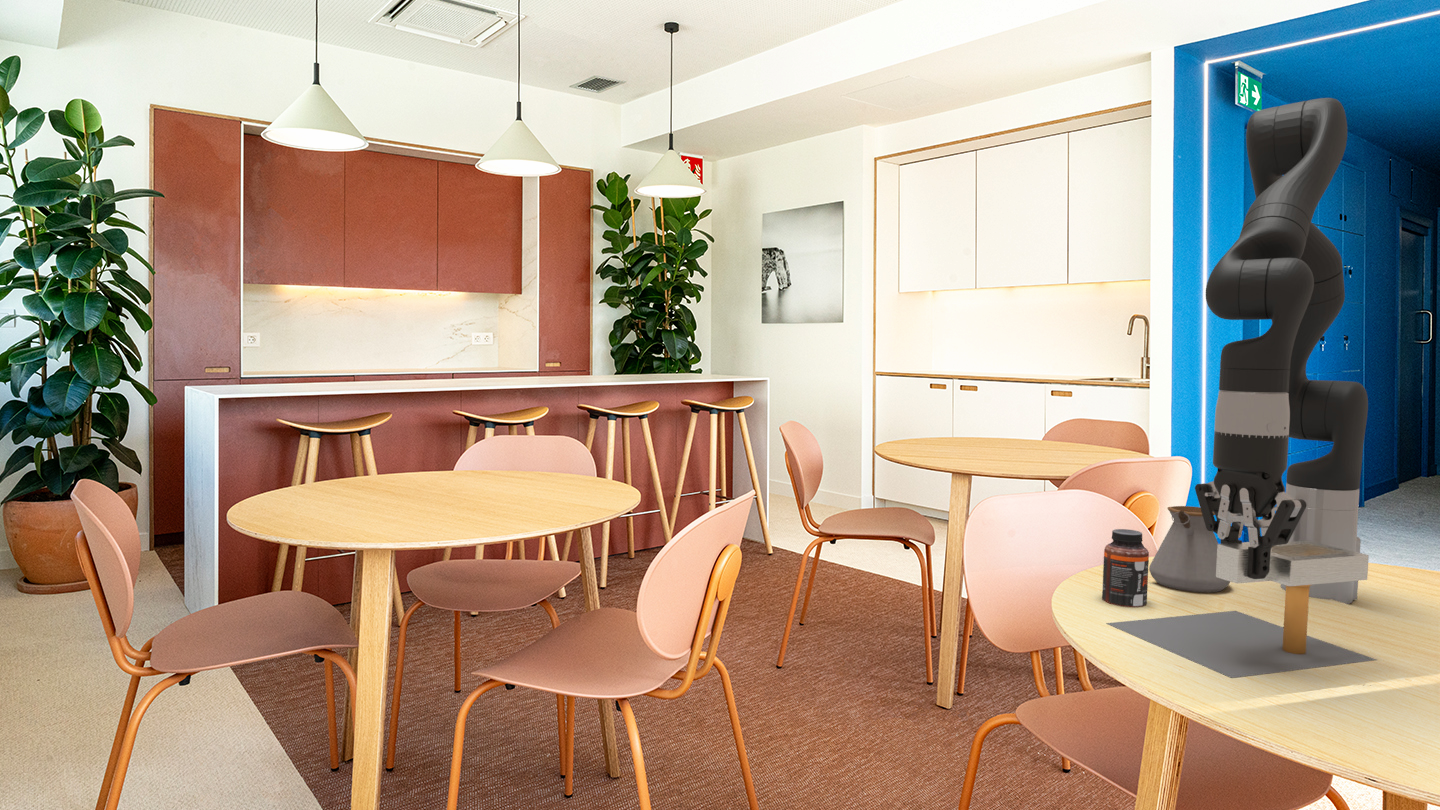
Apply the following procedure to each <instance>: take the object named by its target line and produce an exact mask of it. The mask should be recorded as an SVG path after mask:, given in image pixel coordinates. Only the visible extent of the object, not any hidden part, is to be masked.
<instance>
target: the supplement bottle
mask: <svg viewBox="0 0 1440 810" xmlns="http://www.w3.org/2000/svg"><path fill="white" fill-rule="evenodd" d="M1111 540H1112V541H1111V542H1110V543H1108V544H1106V545H1105V547H1104V551H1103V565H1102V566H1103V567H1102V568H1103V570H1102V592H1101V593H1102V594H1101V595H1102V596H1101V598H1102V601H1103V602H1105V603H1107V604H1110V605H1112V606H1113V605H1114V606H1118V607H1123V608H1124V607H1125V608H1142V607H1146V606H1147V604H1148V584H1149V583H1148V581H1149V566H1150V562H1149V561H1150V560H1149V558H1150V557H1149V556H1150V555H1149V554H1150V552H1149V550H1148V548H1146V547H1145V546H1144V544H1143V533H1142V531H1139V530H1135V529H1126V528H1117V529H1116V528H1115V529H1112V531H1111Z"/></svg>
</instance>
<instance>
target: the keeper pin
mask: <svg viewBox="0 0 1440 810" xmlns="http://www.w3.org/2000/svg"><path fill="white" fill-rule="evenodd" d="M1310 586H1311V585H1301V586H1286V590H1285V596H1284V597H1285V598H1284V613H1283V614H1284V615H1283V617H1284V618H1283V627H1284V630H1283V647H1282V649H1283V650H1284V651H1286V652H1289V653H1293V654H1305V653H1306V640H1307V636H1308V635H1307V634H1308V619H1309V605H1310V604H1309V603H1310V597H1309V588H1310Z"/></svg>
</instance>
